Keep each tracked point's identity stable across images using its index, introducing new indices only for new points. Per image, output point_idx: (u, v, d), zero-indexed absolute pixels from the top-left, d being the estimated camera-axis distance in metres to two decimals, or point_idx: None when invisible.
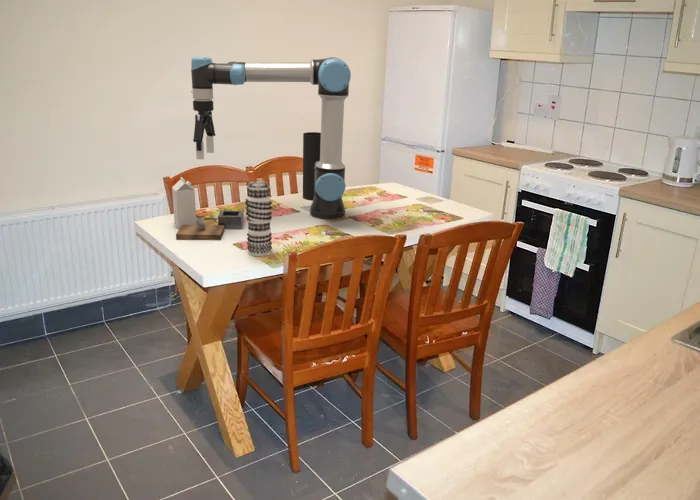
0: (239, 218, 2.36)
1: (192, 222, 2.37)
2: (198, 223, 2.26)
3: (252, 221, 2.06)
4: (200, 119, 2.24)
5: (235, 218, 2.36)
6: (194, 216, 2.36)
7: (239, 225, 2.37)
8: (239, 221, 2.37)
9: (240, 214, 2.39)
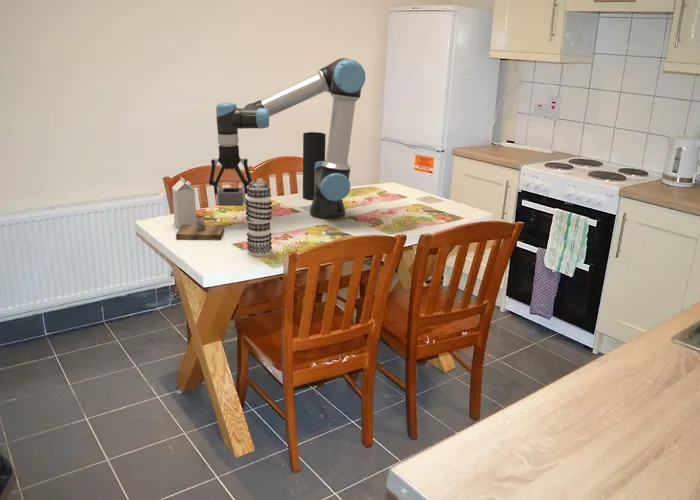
0: (240, 194, 2.33)
1: (192, 222, 2.37)
2: (198, 223, 2.26)
3: (252, 221, 2.06)
4: None
5: (235, 194, 2.33)
6: (194, 216, 2.36)
7: (240, 201, 2.34)
8: (240, 197, 2.33)
9: (241, 190, 2.36)
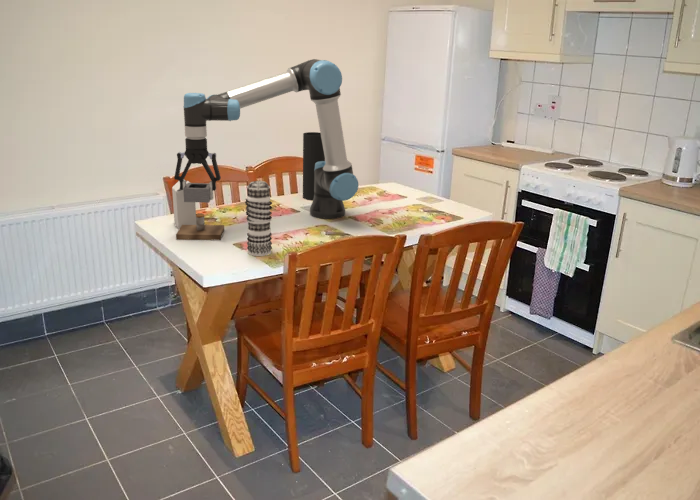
0: (206, 190, 2.19)
1: (192, 222, 2.37)
2: (198, 223, 2.26)
3: (252, 221, 2.06)
4: None
5: (202, 190, 2.19)
6: (194, 216, 2.36)
7: (206, 198, 2.20)
8: (206, 194, 2.20)
9: (208, 186, 2.22)
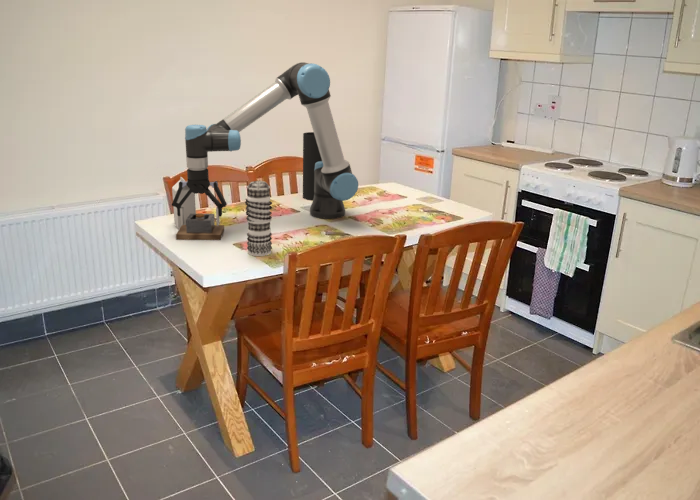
0: (208, 222, 2.23)
1: None
2: None
3: (252, 221, 2.06)
4: None
5: (204, 222, 2.23)
6: None
7: (209, 229, 2.24)
8: (208, 225, 2.24)
9: (210, 217, 2.26)
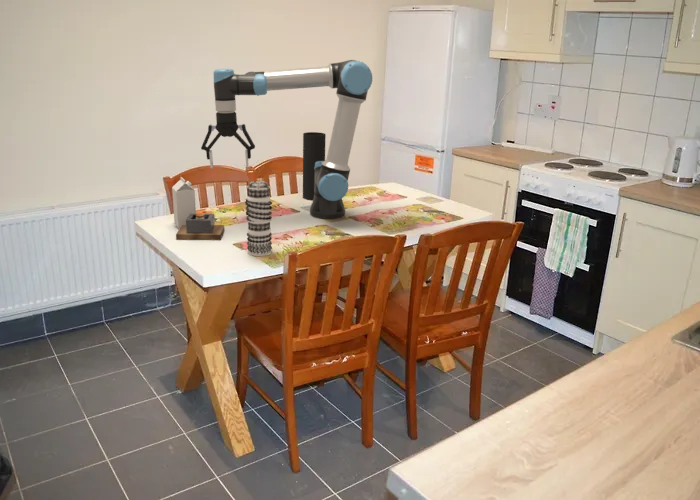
0: (208, 222, 2.23)
1: None
2: None
3: (252, 221, 2.06)
4: (208, 129, 2.29)
5: (204, 222, 2.23)
6: None
7: (209, 229, 2.24)
8: (208, 225, 2.24)
9: (210, 217, 2.26)
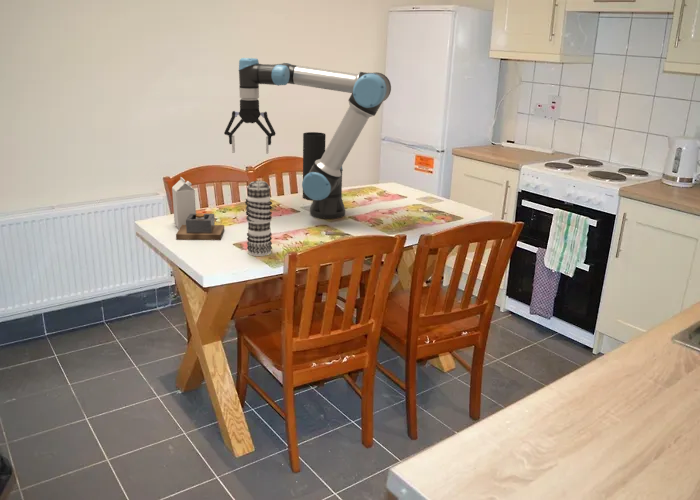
0: (208, 222, 2.23)
1: None
2: None
3: (252, 221, 2.06)
4: None
5: (204, 222, 2.23)
6: None
7: (209, 229, 2.24)
8: (208, 225, 2.24)
9: (210, 217, 2.26)
